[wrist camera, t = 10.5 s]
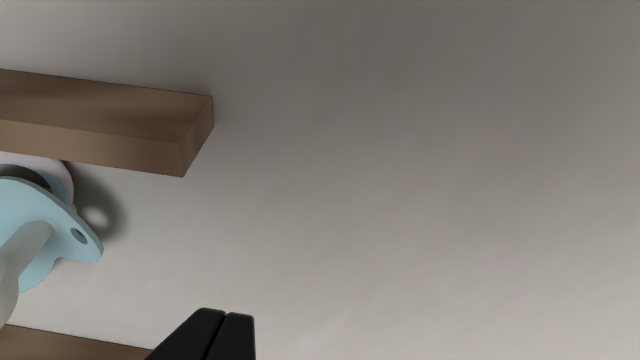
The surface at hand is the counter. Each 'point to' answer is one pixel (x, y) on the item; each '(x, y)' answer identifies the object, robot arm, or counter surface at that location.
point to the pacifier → (38, 228)
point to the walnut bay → (95, 160)
